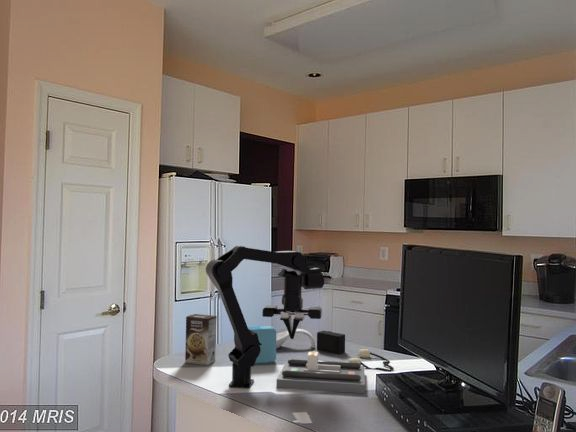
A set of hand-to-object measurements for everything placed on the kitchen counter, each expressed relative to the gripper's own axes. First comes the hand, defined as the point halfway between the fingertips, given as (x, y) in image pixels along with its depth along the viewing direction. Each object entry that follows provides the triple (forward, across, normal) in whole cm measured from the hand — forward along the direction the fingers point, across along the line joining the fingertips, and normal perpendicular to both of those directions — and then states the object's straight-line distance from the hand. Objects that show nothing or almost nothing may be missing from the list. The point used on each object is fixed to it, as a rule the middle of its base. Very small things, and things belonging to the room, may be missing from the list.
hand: (292, 338), depth 150 cm
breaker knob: (+9, -7, +2) cm, 12 cm away
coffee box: (+12, +34, -10) cm, 37 cm away
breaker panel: (+12, -10, +2) cm, 16 cm away
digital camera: (+12, -11, -33) cm, 37 cm away
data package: (+12, +14, -14) cm, 23 cm away
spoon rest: (+12, +8, -36) cm, 38 cm away
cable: (+13, -26, -20) cm, 35 cm away
